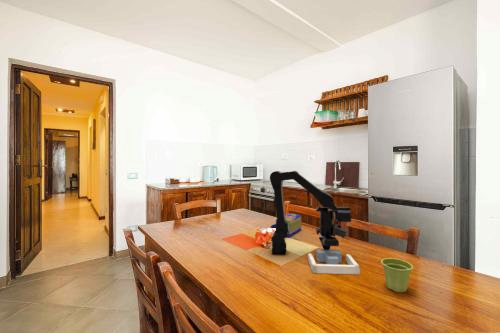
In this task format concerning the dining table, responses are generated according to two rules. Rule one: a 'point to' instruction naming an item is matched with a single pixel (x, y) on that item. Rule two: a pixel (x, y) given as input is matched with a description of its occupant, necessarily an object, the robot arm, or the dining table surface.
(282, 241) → the robot arm
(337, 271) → the u-shaped frame
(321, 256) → the t block
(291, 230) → the blue and olive box
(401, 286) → the plant pot
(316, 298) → the dining table surface
